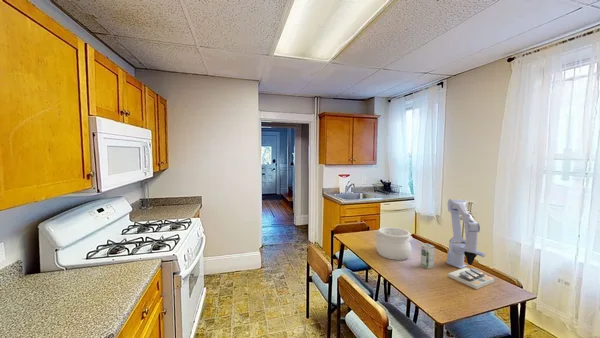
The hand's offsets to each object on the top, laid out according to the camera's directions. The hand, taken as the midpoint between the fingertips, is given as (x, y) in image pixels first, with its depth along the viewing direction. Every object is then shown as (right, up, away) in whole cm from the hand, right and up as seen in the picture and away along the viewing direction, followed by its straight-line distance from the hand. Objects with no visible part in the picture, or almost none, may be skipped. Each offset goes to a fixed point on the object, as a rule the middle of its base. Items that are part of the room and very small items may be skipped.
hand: (470, 264), depth 150 cm
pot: (-33, -6, +35) cm, 49 cm away
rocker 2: (0, -5, -1) cm, 5 cm away
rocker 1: (-5, -5, -4) cm, 8 cm away
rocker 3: (+5, -5, +1) cm, 7 cm away
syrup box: (-18, -8, +16) cm, 25 cm away
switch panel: (0, -9, -1) cm, 9 cm away
